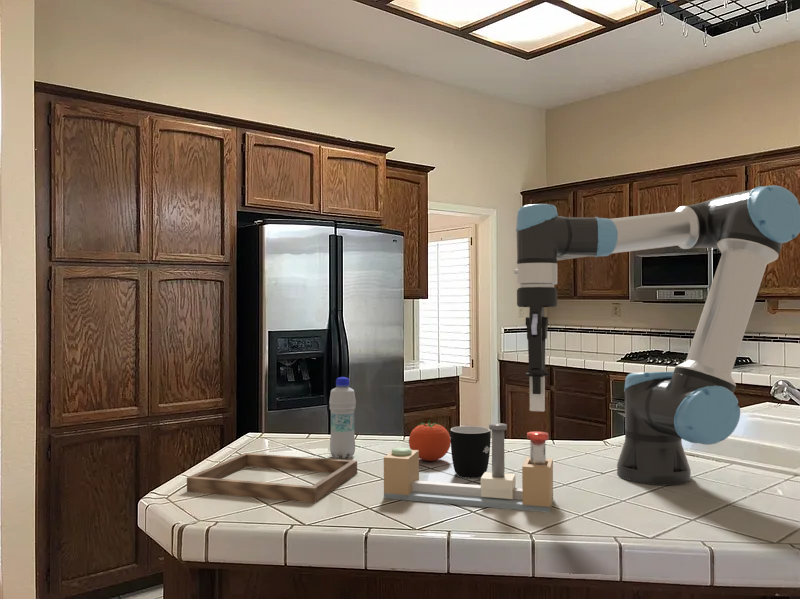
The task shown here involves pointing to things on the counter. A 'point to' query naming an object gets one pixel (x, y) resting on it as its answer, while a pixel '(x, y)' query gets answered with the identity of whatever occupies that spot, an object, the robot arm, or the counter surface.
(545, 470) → the rail
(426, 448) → the tomato
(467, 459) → the mug
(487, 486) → the carriage
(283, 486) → the wooden frame
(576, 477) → the counter surface
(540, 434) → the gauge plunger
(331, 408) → the bottle
